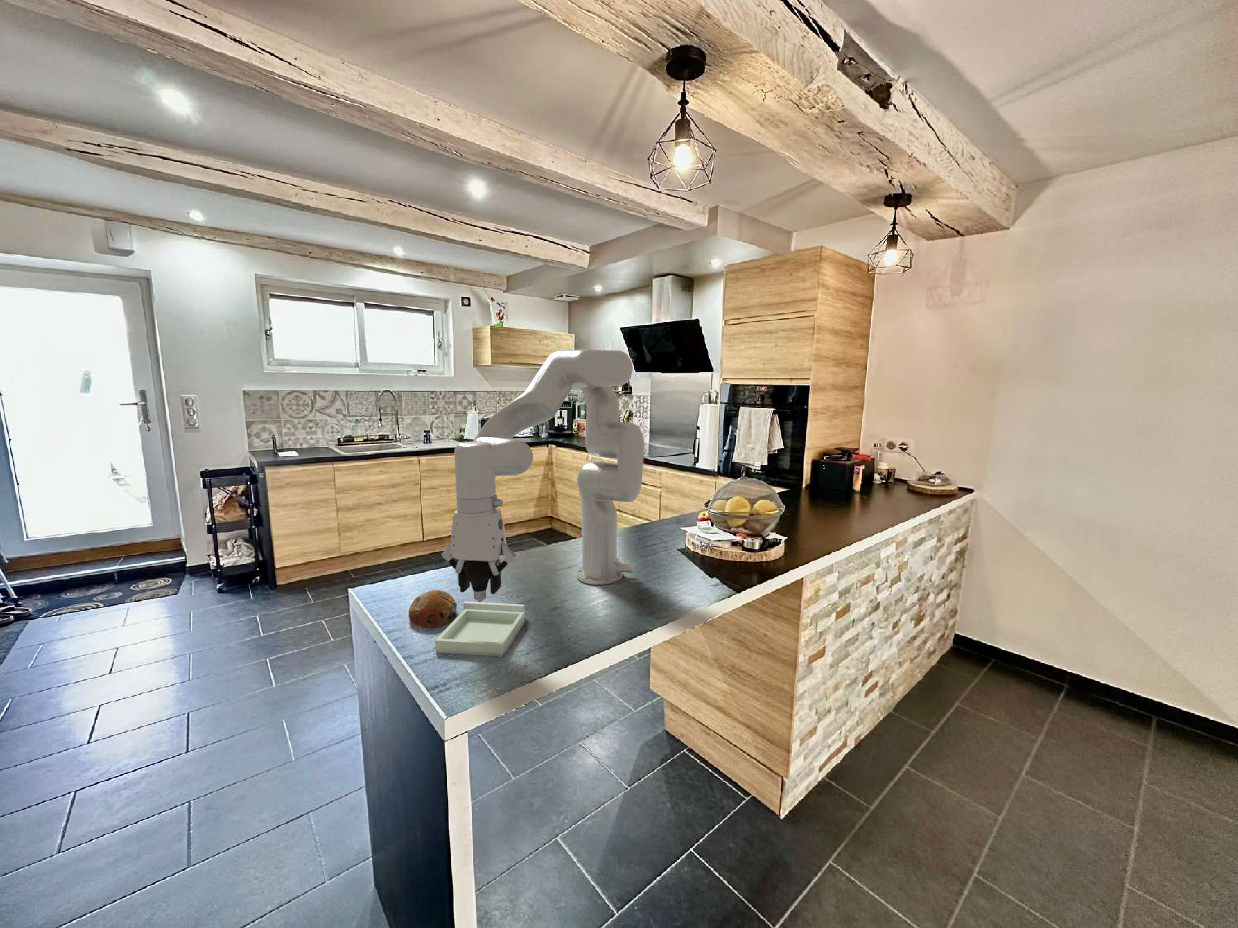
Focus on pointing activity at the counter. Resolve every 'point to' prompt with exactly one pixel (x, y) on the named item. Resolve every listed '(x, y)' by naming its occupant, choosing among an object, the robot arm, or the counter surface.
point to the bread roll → (432, 609)
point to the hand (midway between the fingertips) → (480, 589)
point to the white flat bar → (494, 606)
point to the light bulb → (478, 577)
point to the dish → (480, 633)
